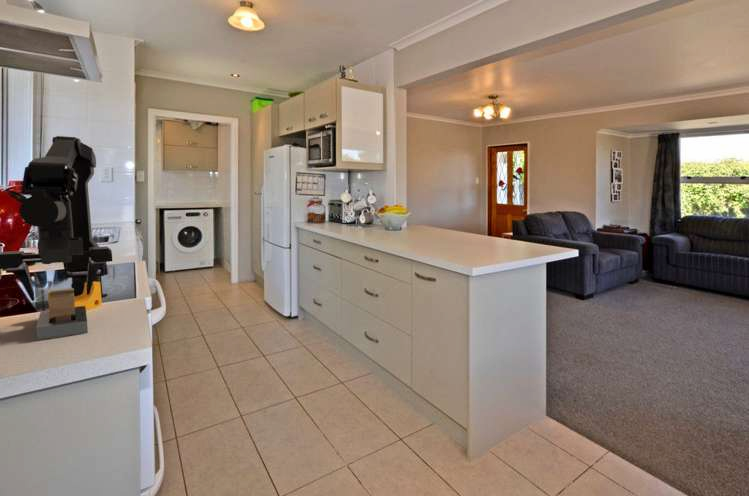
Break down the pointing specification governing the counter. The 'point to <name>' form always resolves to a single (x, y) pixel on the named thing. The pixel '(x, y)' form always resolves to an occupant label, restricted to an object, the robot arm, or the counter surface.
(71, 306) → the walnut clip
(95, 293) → the pipe clamp
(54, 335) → the rail plate
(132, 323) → the counter surface
